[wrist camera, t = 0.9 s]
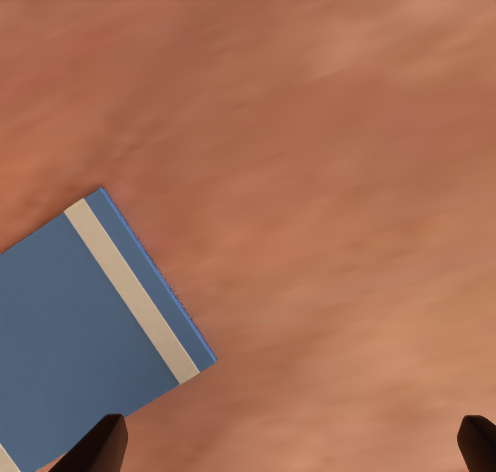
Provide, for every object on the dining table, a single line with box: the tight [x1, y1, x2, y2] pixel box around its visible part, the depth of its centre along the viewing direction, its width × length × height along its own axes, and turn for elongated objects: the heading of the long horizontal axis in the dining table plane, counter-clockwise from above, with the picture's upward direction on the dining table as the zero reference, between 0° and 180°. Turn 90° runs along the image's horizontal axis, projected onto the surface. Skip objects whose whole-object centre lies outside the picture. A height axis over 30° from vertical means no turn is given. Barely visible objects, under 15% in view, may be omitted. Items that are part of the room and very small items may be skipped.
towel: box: [0, 188, 216, 472], centre depth 24 cm, size 22×16×1 cm
